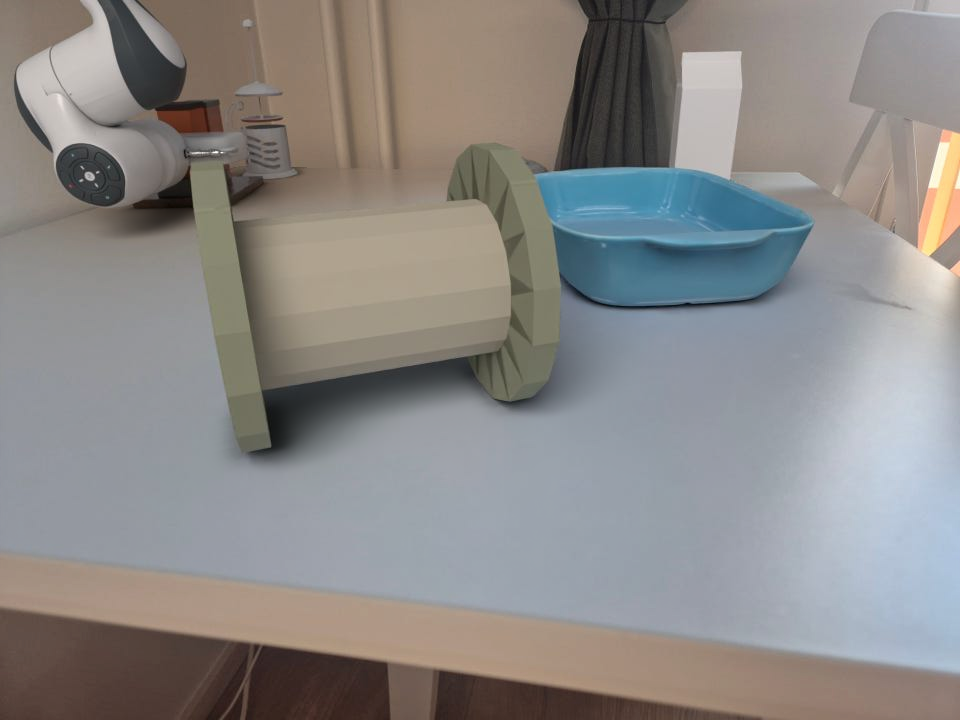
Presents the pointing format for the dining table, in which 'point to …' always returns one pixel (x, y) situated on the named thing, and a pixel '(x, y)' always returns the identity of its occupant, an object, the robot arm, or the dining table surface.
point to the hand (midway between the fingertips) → (188, 142)
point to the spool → (382, 287)
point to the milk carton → (706, 112)
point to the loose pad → (184, 118)
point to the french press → (263, 133)
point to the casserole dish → (668, 235)
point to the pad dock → (182, 190)
